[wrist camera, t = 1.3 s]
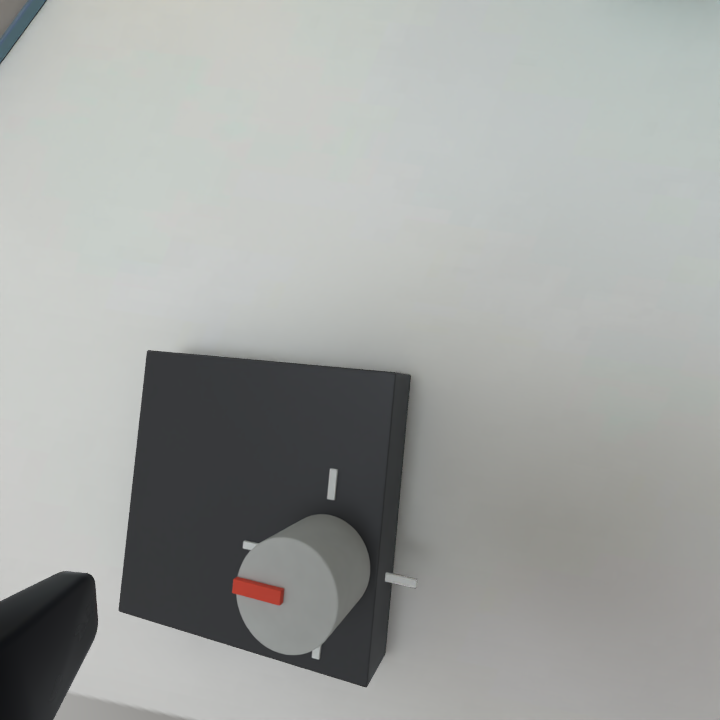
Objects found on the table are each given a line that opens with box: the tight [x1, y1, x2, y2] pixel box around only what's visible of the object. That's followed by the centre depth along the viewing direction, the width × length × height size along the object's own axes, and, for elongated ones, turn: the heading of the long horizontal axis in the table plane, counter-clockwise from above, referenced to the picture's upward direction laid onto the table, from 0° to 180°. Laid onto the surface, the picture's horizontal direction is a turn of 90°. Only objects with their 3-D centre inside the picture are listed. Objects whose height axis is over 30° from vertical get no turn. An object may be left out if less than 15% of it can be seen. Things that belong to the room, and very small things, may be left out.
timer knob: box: [232, 514, 370, 655], centre depth 21 cm, size 4×4×4 cm
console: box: [119, 350, 417, 687], centre depth 26 cm, size 14×16×3 cm
